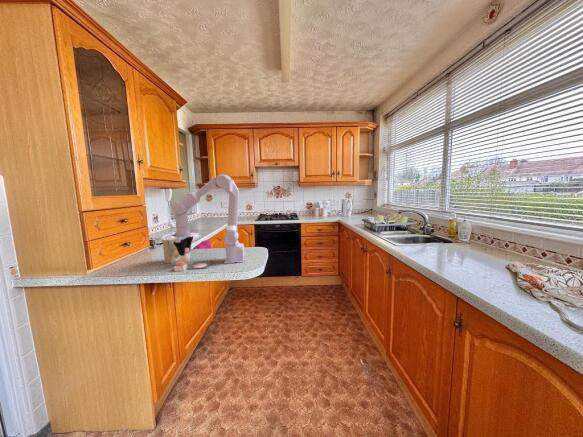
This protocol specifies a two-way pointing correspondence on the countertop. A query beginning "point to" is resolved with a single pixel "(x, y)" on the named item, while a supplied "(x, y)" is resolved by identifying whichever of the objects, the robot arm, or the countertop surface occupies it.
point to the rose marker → (186, 256)
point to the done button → (180, 263)
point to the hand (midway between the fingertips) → (185, 253)
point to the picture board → (199, 265)
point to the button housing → (180, 267)
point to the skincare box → (170, 251)
